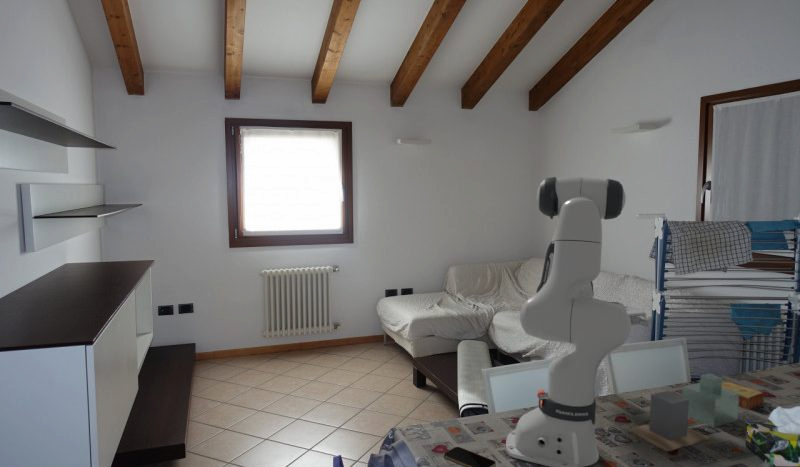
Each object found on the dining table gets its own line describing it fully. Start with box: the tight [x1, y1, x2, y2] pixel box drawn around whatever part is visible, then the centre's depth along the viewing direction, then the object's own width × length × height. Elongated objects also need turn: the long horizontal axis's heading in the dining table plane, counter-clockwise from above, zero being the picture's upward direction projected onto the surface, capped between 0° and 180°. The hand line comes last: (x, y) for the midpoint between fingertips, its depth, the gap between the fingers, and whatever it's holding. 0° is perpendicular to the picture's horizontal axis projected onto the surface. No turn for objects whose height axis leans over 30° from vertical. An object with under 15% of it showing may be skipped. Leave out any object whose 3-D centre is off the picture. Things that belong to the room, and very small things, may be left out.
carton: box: [697, 379, 765, 410], centre depth 165 cm, size 8×16×4 cm, turn 28°
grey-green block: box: [681, 372, 739, 428], centre depth 151 cm, size 10×10×12 cm
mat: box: [627, 423, 710, 453], centre depth 140 cm, size 16×12×1 cm
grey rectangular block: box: [649, 390, 689, 441], centre depth 139 cm, size 6×6×10 cm
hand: (635, 324), depth 148 cm, fingers open, 8 cm apart
